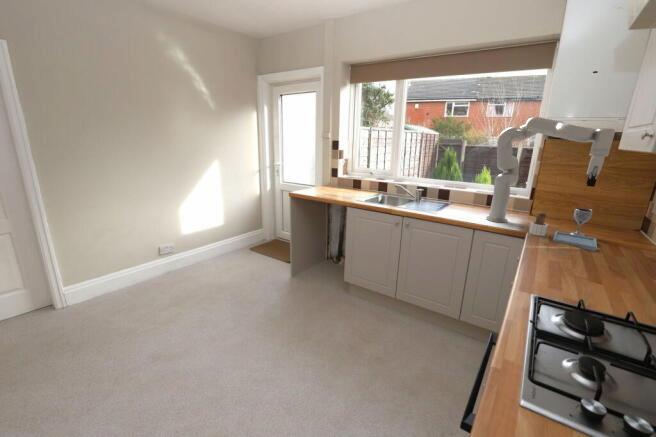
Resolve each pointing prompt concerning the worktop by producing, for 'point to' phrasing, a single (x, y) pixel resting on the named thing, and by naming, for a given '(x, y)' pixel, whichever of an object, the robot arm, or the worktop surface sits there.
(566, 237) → the tray
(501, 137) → the robot arm
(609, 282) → the worktop surface
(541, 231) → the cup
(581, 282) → the worktop surface
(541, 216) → the dowel
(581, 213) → the wine glass
